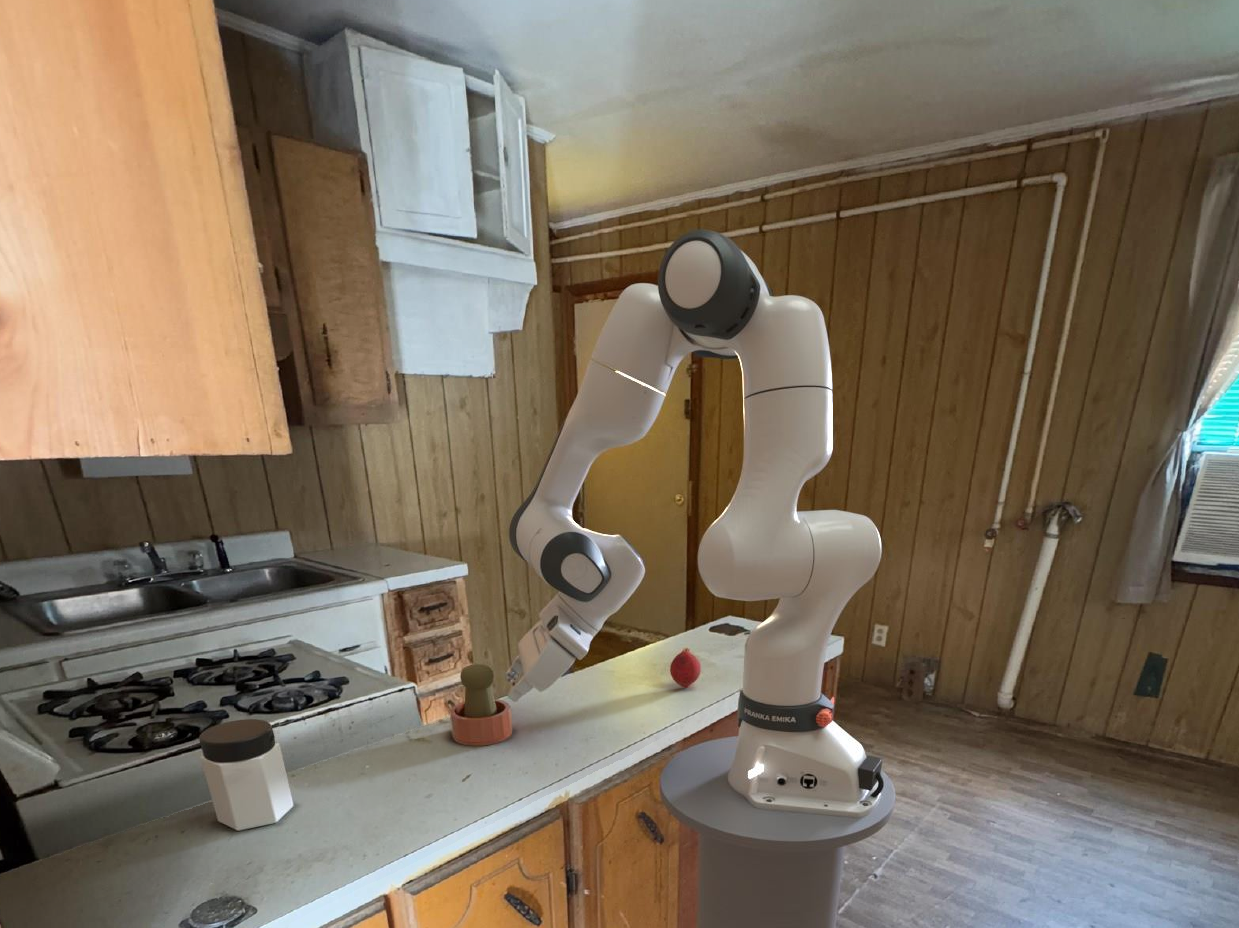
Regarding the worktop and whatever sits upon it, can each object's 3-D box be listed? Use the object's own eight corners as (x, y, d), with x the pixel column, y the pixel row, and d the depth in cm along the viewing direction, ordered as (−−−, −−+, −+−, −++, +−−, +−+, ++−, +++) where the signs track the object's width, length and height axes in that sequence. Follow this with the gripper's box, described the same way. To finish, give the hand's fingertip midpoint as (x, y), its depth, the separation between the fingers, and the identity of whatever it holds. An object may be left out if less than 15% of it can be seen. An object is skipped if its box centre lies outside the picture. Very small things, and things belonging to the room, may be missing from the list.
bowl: (523, 728, 124) (521, 703, 122) (490, 749, 116) (487, 723, 114) (475, 720, 128) (472, 695, 126) (440, 740, 120) (437, 714, 118)
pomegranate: (690, 694, 139) (691, 654, 136) (664, 689, 142) (664, 649, 138) (705, 686, 143) (706, 646, 140) (679, 681, 146) (680, 641, 143)
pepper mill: (458, 728, 123) (450, 665, 118) (492, 720, 126) (486, 658, 121) (472, 740, 118) (465, 674, 114) (507, 731, 121) (501, 667, 117)
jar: (305, 810, 98) (287, 727, 94) (246, 837, 92) (223, 749, 87) (266, 793, 103) (247, 713, 98) (207, 818, 97) (183, 733, 92)
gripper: (545, 598, 126) (492, 658, 127) (558, 628, 107) (495, 697, 109) (572, 622, 128) (520, 680, 130) (589, 656, 110) (528, 722, 112)
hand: (509, 688), depth 120 cm, fingers open, 8 cm apart
